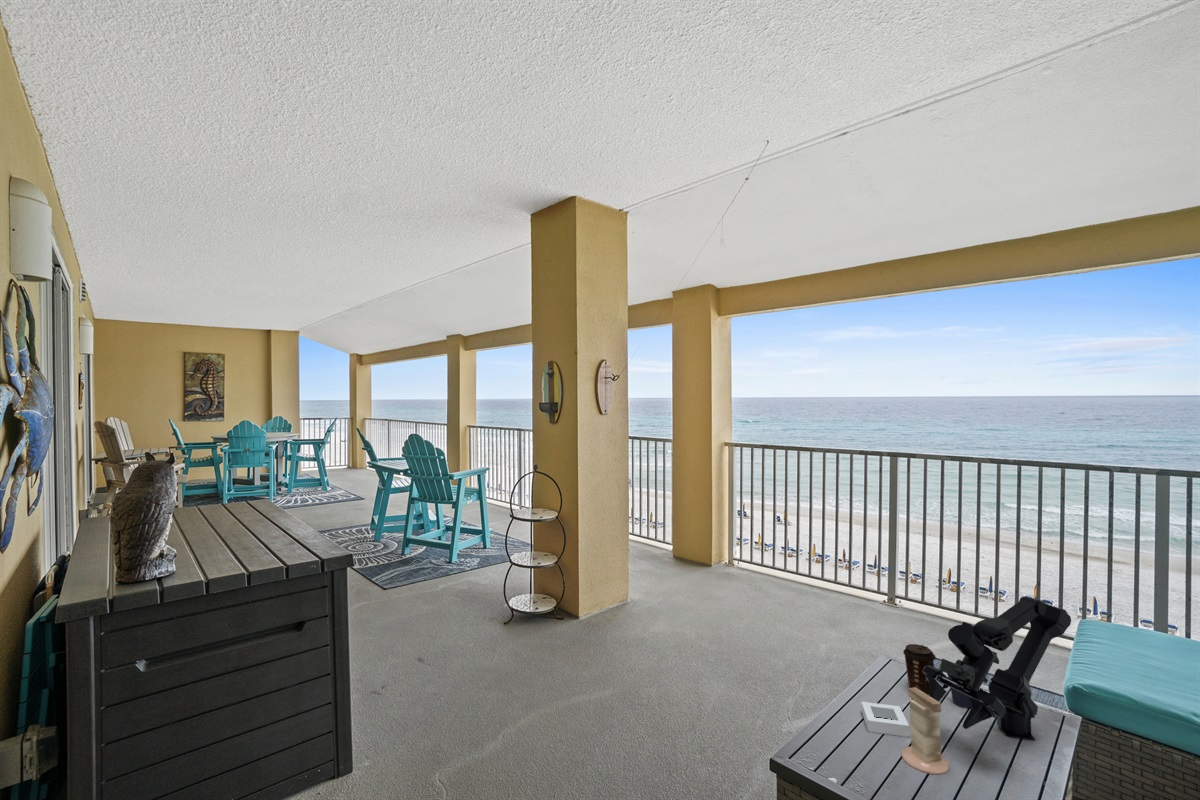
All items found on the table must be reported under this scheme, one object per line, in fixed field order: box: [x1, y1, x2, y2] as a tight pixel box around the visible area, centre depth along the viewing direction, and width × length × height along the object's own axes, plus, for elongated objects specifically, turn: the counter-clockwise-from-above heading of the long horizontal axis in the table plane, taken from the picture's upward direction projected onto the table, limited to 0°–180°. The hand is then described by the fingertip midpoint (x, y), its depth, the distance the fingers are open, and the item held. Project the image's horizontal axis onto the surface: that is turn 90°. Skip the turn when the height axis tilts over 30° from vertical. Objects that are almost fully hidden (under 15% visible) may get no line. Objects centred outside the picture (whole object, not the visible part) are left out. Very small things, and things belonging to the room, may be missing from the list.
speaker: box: [947, 675, 973, 709], centre depth 158 cm, size 8×6×10 cm
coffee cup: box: [902, 643, 936, 696], centre depth 166 cm, size 9×8×13 cm
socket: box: [860, 701, 910, 738], centre depth 148 cm, size 10×10×3 cm
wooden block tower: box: [907, 687, 942, 763], centre depth 133 cm, size 4×8×15 cm, turn 12°
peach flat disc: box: [901, 746, 950, 775], centre depth 132 cm, size 10×10×1 cm
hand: (946, 718), depth 135 cm, fingers open, 9 cm apart
